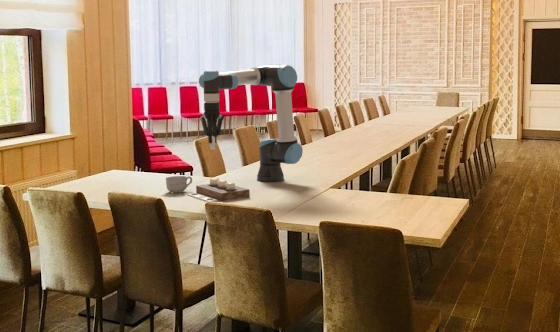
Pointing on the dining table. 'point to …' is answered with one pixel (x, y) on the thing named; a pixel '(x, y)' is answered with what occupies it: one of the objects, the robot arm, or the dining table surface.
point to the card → (202, 197)
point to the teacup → (177, 183)
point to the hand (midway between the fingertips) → (212, 149)
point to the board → (222, 192)
